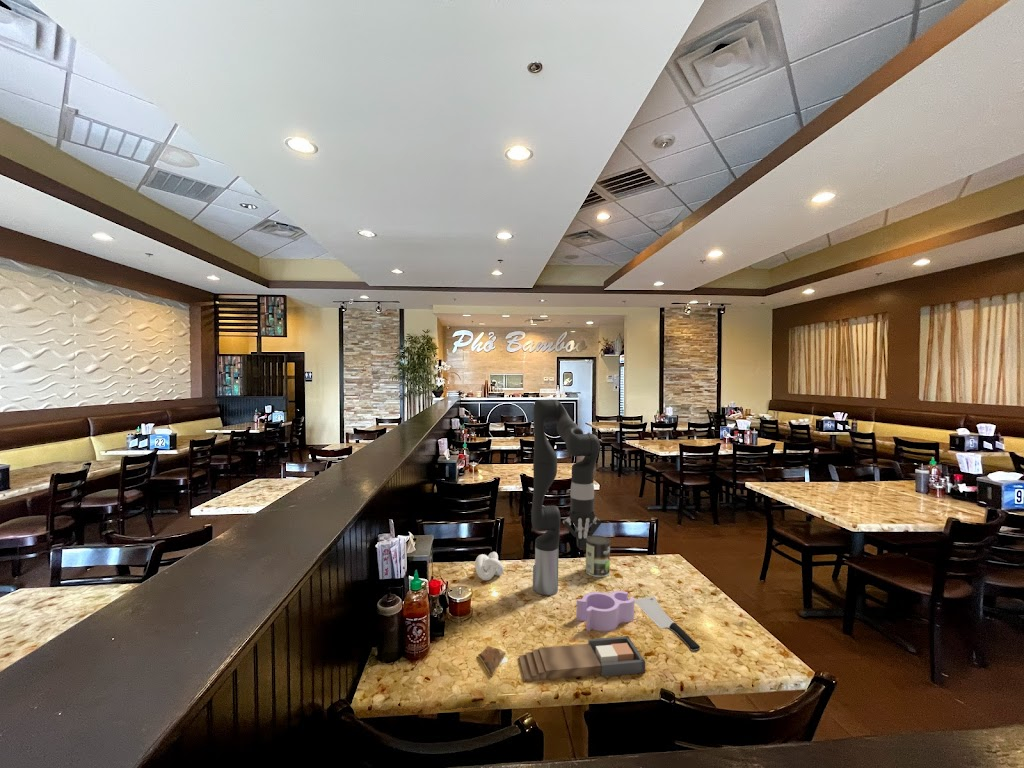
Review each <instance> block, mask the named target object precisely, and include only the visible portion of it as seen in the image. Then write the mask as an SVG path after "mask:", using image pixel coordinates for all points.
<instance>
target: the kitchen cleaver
mask: <svg viewBox="0 0 1024 768" xmlns="http://www.w3.org/2000/svg"><path fill="white" fill-rule="evenodd" d="M634 604H636V605H637V606H638V607H639V608H640V609H641V610H642V611H643V612H644V613H645V614H646V615H647V616H648V618H650V619H651V620H652V622H654V623H655V624H656V626H658V628H659V629H660V630H661V629H662V630H663V629H669V630H671V631H672V632H674V633H675V634H676V635H677V636H678V637H679V638H680V639H681V640H682V642H683V643H685V644H686V645H687V646H688V647H689V649H690V650H691V651H692V652H698V651H700V650H701V647H700V645H699V644H698V642H696V641H695V640H694V639H693V638H692V637H691V636H689V634H687V633H686V632H685V631H684V629H682V628H681V627H680V626H679V624H677V623H676V622H674V621H673V620H672V619H671V618H670V616H669V615H668V614H667V613H666V612H665V611H664V610H663V608H662V606H661V605H660V604H659V602H658V600H657V597H656V596H654V595H653V596H652V595H651V596H647V597H640V598H635V599H634Z"/></svg>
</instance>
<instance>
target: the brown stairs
mask: <svg viewBox="0 0 1024 768" xmlns="http://www.w3.org/2000/svg"><path fill="white" fill-rule="evenodd" d="M518 658H519V664H520V666H521V671H522V675H523V679H524V682H533V681H535V682H536V681H545V680H547V679H546V670H545V667H544V664H543V661H542V658H541V655H540V652H539V648H537V649H532V651H530V652H529V651H528V652H525V654H521V655H518Z"/></svg>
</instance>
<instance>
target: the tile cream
mask: <svg viewBox="0 0 1024 768" xmlns="http://www.w3.org/2000/svg"><path fill="white" fill-rule="evenodd" d="M596 657H597V659H598V661H599V663H600V665H601V663H609V662H618V655H617V653H616V652H615V650H614V648H613V646H612V645H604V646H596Z"/></svg>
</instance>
